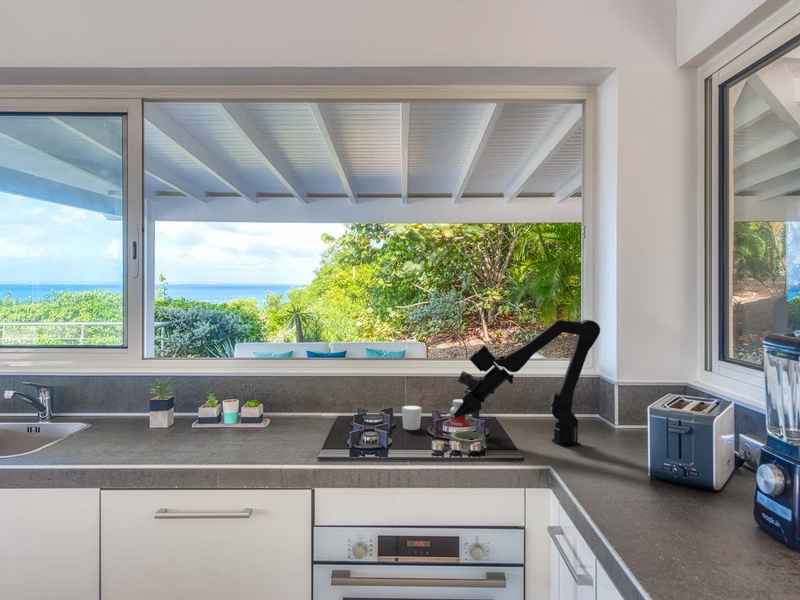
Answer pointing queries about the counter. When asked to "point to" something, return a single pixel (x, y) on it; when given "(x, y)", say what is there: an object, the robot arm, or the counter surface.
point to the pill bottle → (461, 420)
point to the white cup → (411, 417)
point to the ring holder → (467, 439)
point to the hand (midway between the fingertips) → (455, 414)
